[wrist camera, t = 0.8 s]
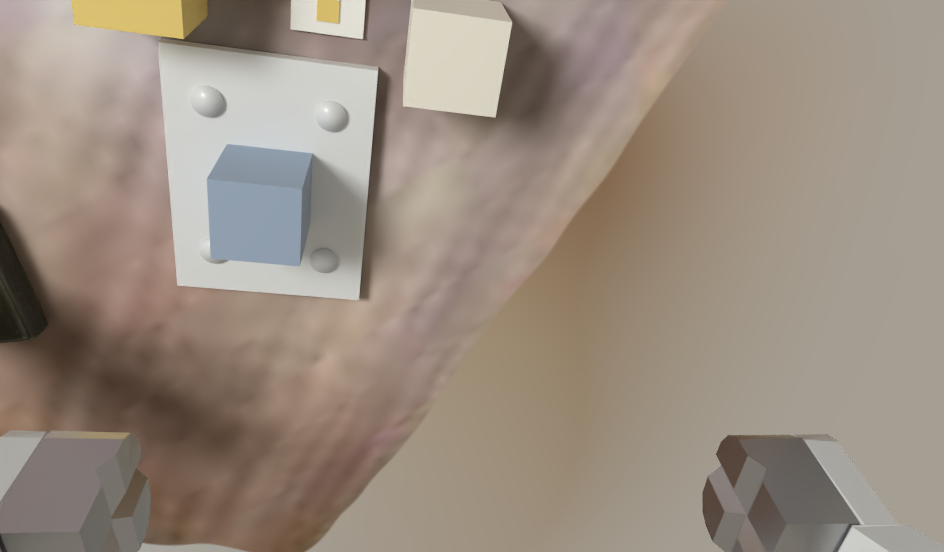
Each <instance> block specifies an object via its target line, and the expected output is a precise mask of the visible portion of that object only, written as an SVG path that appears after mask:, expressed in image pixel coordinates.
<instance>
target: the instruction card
mask: <svg viewBox="0 0 944 552" xmlns="http://www.w3.org/2000/svg"><path fill="white" fill-rule="evenodd" d="M365 4H366V0H291V29H292V30H299V31H306V32H314V33H321V34H328V35H335V36H343V37H350V38H357V39H363V32H364V18H365Z"/></svg>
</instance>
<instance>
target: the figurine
mask: <svg viewBox="0 0 944 552" xmlns="http://www.w3.org/2000/svg"><path fill="white" fill-rule="evenodd" d="M46 326H47V322H46V319H45V316H44V314H43V312H42V309H41V307H40V305H39V303H38V301H37V299H36V297H35V295H34V292H33V289H32V287H31V285H30V283H29V281H28V279H27V277H26V274H25V272H24V270H23V268H22V266H21V264H20V263H19V261H18V258H17V256H16V254H15V252H14V249H13V247H12V245H11V243H10V241H9V238H8V236H7V234H6V232H5V231H4V229H3V227H2V226H1V224H0V343H4V342H15V341H24V340H31V339H34V338H35V337H36V336H38V335H39V334H40V333H42V332H43V330H44V329H45V328H46Z"/></svg>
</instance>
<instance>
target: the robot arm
mask: <svg viewBox="0 0 944 552" xmlns="http://www.w3.org/2000/svg"><path fill="white" fill-rule="evenodd" d="M141 455H142V451H141V447H140V444H139V440H138V436H137V435H134V434H132V433H115V432H80V431H51V432H49V431H17V430H11V431H9V432H8V433H6V434H4V435H3V436H1V437H0V552H137V551H139V550H140V547H141V545H142V542H143V539H144V536H145V533H146V531H147V526H148V520H149V514H150V508H151V502H150V487H149V482H148V478H147V477H146V476H145V475H144V474H142V473H141V472H140V471H139V470H137V469H136V467H137V465H138V463H139V460H140V458H141ZM716 455H717V457H718V459H719V461H720V463H721V465H722V466H721V467H719V468H718V469H717V470H715V471H714V472H713V473H711V474H710V475H709V476H708V477H707V481H706V484H705V487H704V490H703V515H704V519H705V523H706V527H707V529H708V532H709V534H710V536H711V539H712V541H713V542H714V543H715V544H716V545H718V546H719V547H720V548H721V549H722V550H724V551H725V552H944V547H942V546H941V545H939V544H938V543H936V542H935V541H933V540H932V539H930V538H929V537H927V536H926V535H924V534H922V533H921V532H919V531H918V530H916V529H915V528H913V527H912V526H910V525H899V524H898V523H897V522H896V520H895V519H894V518H893V516H892V515H891V513H890V512H889V511H888V509H887V508H886V507H885V506H884V504H883V503H882V501H881V500H880V498H879V497H878V496H877V494H876V493H875V492H874V490H873V489H872V488H871V486H870V485H869V483H868V482H867V481H866V479H865V478H864V477H863V475H862V474H861V473H860V471H859V470H858V468H857V467H856V466H855V464H854V463H853V462H852V461H851V459H850V458H849V456H848V455H847V454H846V452H845V451H844V449H843V448H842V447H841V445H840V444H839V443H838V441H836V440H835V439H834V438H832V437H831V436H829V435H793V436H792V435H728V436H727V437H726V438H725V439H724V440H723V441H722V442H721V444H720V446H719V449H718V451H717V453H716Z"/></svg>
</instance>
